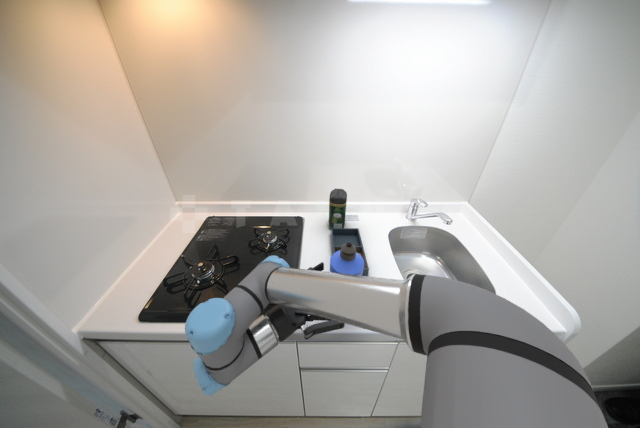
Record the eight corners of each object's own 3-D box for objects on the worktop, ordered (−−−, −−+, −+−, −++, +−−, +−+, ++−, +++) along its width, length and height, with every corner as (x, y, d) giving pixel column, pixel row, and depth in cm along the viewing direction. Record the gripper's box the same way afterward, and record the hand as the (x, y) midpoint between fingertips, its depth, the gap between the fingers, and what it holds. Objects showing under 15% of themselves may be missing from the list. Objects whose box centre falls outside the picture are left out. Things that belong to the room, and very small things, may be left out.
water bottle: (354, 319, 63) (364, 262, 49) (325, 310, 66) (326, 253, 52) (359, 293, 71) (369, 237, 57) (332, 286, 73) (335, 230, 59)
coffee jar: (329, 219, 107) (330, 186, 96) (345, 220, 106) (347, 187, 96) (327, 230, 99) (328, 196, 89) (344, 232, 98) (347, 197, 88)
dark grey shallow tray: (367, 276, 77) (369, 269, 74) (334, 277, 76) (334, 269, 74) (357, 235, 96) (358, 228, 94) (331, 235, 96) (331, 228, 94)
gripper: (251, 299, 58) (311, 263, 69) (304, 385, 42) (371, 320, 53) (246, 282, 54) (311, 246, 65) (302, 370, 38) (375, 303, 49)
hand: (338, 279), depth 59 cm, fingers open, 13 cm apart
